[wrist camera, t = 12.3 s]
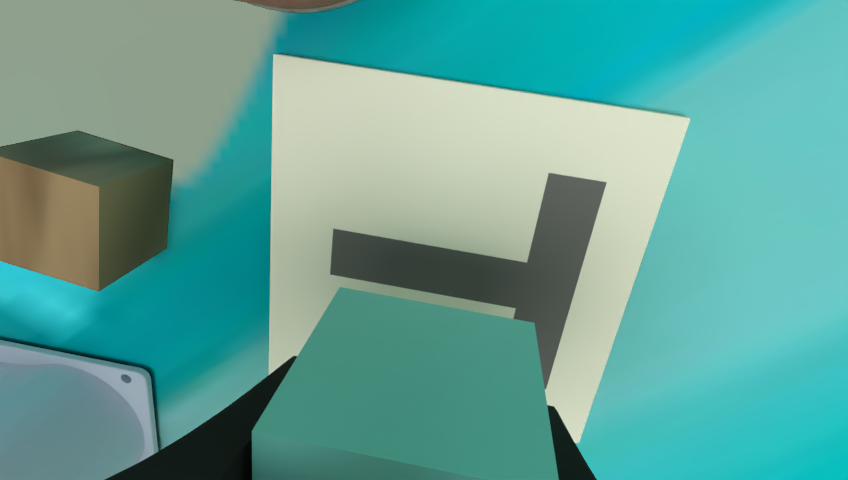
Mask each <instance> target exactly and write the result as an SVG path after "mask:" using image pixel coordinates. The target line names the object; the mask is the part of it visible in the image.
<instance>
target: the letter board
mask: <svg viewBox="0 0 848 480" xmlns="http://www.w3.org/2000/svg"><path fill="white" fill-rule="evenodd" d="M690 119H691V118H689V117H686V116H682V115H676V114H669V113H663V112H656V111H650V110H643V109H637V108H630V107H624V106H617V105H611V104H604V103H598V102H591V101H585V100H578V99H572V98H565V97H559V96H552V95H546V94H539V93H533V92H526V91H519V90H513V89H506V88H500V87H493V86H487V85H480V84H474V83H467V82H461V81H454V80H448V79H441V78H435V77H428V76H422V75H415V74H409V73H402V72H396V71H389V70H383V69H376V68H370V67H363V66H357V65H350V64H344V63H337V62H331V61H324V60H318V59H311V58H305V57H298V56H292V55H285V54H273V104H272V174H271V245H270V316H269V375H270V374H271V373H272V372H273V371H275V370H276V369H277V368H278V367H280V366H281V365H282V364H283V363H285V362H286V361H287V360H288V359H290V358H291V357H293V356H298V355H299V353H300V351H301V350H302V348H303V346H304V345H305V343H306V341H307V340H308V338H309V337H310V335H311V333H312V332H313V330H314V328H315V327H316V325H317V323H318V322H319V320H320V319H321V317H322V315H323V314H324V312H325V310H326V309H327V307H328V305H329V304H330V302H331V301H332V299H333V297H334V296H335V294H336V292H337V291H338V289H339V287H343V288H349V289H354V290H359V291H365V292H370V293H376V294H381V295H386V296H392V297H397V298H403V299H408V300H414V301H419V302H424V303H430V304H435V305H441V306H446V307H452V308H457V309H462V310H468V311H473V312H479V313H484V314H489V315H495V316H500V317H506V318H511V319H517V320H522V321H527V322H533V323H535V330H536V336H537V343H538V349H539V356H540V362H541V368H542V375H543V381H544V388H545V394H546V401H547V405H550V406H554V407H555V408H556V410H557V411H558V413H559V415H560V417H561V419H562V421H563V422H564V424H565V426H566V428H567V430H568V432H569V433H570V435H571V437H572V439H573V441H574V442H575V443H579V441H580V438H581V435H582V432H583V429H584V426H585V424H586V421H587V418H588V415H589V412H590V409H591V406H592V403H593V400H594V397H595V395H596V392H597V389H598V386H599V383H600V380H601V377H602V374H603V371H604V368H605V366H606V363H607V360H608V357H609V354H610V351H611V348H612V345H613V342H614V339H615V337H616V334H617V331H618V328H619V325H620V322H621V319H622V316H623V313H624V310H625V308H626V305H627V302H628V299H629V296H630V293H631V290H632V287H633V284H634V281H635V279H636V276H637V273H638V270H639V267H640V264H641V261H642V258H643V255H644V252H645V249H646V247H647V244H648V241H649V238H650V235H651V232H652V229H653V226H654V223H655V220H656V218H657V215H658V212H659V209H660V206H661V203H662V200H663V197H664V194H665V191H666V189H667V186H668V183H669V180H670V177H671V174H672V171H673V168H674V165H675V162H676V160H677V157H678V154H679V151H680V148H681V145H682V142H683V139H684V136H685V133H686V131H687V128H688V125H689V122H690Z"/></svg>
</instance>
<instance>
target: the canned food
mask: <svg viewBox="0 0 848 480" xmlns="http://www.w3.org/2000/svg"><path fill="white" fill-rule="evenodd" d="M236 1H242V2H247V3H250V4H252V5H255V6H259V7H262V8H266V9H270V10H276V11H283V12H292V13H311V12H321V11H327V10H332V9H336V8H340V7H343V6H346V5H350V4H352V3H354V2H357V1H359V0H236Z"/></svg>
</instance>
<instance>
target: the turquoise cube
mask: <svg viewBox="0 0 848 480" xmlns="http://www.w3.org/2000/svg"><path fill="white" fill-rule="evenodd" d="M252 480H559V478H558V472H557V465H556V459H555V452H554V446H553V439H552V433H551V426H550V420H549V414H548V407H547V401H546V394H545V388H544V381H543V375H542V368H541V362H540V356H539V349H538V343H537V336H536V330H535V323H533V322H527V321H522V320H517V319H511V318H506V317H500V316H495V315H489V314H484V313H479V312H473V311H468V310H462V309H457V308H452V307H446V306H441V305H435V304H430V303H424V302H419V301H414V300H408V299H403V298H397V297H392V296H386V295H381V294H376V293H370V292H365V291H359V290H354V289H349V288H343V287H339V289H338V291H337V292H336V294H335V296H334V297H333V299H332V301H331V302H330V304H329V305H328V307H327V309H326V310H325V312H324V314H323V315H322V317H321V319H320V320H319V322H318V323H317V325H316V327H315V328H314V330H313V332H312V333H311V335H310V337H309V338H308V340H307V341H306V343H305V345H304V346H303V348H302V350H301V351H300V353H299V355H298V356H297V358H296V360H295V361H294V363H293V364H292V366H291V368H290V369H289V371H288V373H287V374H286V376H285V378H284V379H283V381H282V382H281V384H280V386H279V387H278V389H277V391H276V392H275V394H274V396H273V397H272V399H271V400H270V402H269V404H268V405H267V407H266V409H265V410H264V412H263V414H262V415H261V417H260V418H259V420H258V422H257V423H256V425H255V427H254V428H253V430H252Z"/></svg>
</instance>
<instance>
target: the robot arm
mask: <svg viewBox="0 0 848 480" xmlns="http://www.w3.org/2000/svg"><path fill="white" fill-rule="evenodd" d="M296 358H297V356H293V357H291V358H290V359H288V360H287V361H286V362H285V363H283V364H282V365H281V366H280V367H278V368H277V369H276V370H275V371H273V372H272V373H271V374H270V375H268V376H267V377H266V378H265V379H263V380H262V381H261V382H260V383H258V384H257V385H256V386H254V387H253V388H252V389H251V390H249V391H248V392H247V393H245V394H244V395H243V396H241V397H240V398H239V399H237V400H236V401H234V402H233V403H232V404H230V405H229V406H228V407H226V408H225V409H224V410H222V411H221V412H219V413H218V414H216V415H215V416H213V417H212V418H210V419H209V420H208V421H206V422H205V423H203V424H202V425H200V426H199V427H197V428H196V429H194V430H193V431H191V432H190V433H188V434H187V435H185V436H183V437H182V438H180V439H179V440H177V441H175V442H174V443H172V444H170V445H169V446H167V447H165V448H164V449H162V450H160V451H158V444H157V434H156V424H155V414H154V405H153V395H152V385H151V377H150V374H149V373H148V372H147V371H146V370H144V369H142V368H138V367H133V366H128V365H123V364H118V363H113V362H108V361H103V360H98V359H93V358H88V357H83V356H78V355H73V354H68V353H63V352H58V351H53V350H48V349H43V348H38V347H33V346H28V345H23V344H18V343H13V342H8V341H3V340H0V480H252V430H253V428H254V427H255V425H256V423H257V422H258V420H259V418H260V417H261V415H262V414H263V412H264V410H265V409H266V407H267V405H268V404H269V402H270V400H271V399H272V397H273V396H274V394H275V392H276V391H277V389H278V387H279V386H280V384H281V382H282V381H283V379H284V378H285V376H286V374H287V373H288V371H289V369H290V368H291V366H292V364H293V363H294V361H295V360H296ZM547 407H548V414H549V420H550V426H551V433H552V439H553V446H554V452H555V459H556V465H557V472H558V478H559V480H597V479H596V478H595V476H594V474H593V473H592V471H591V470H590V468H589V466H588V465H587V463H586V461H585V460H584V458H583V456H582V455H581V453H580V451H579V449H578V448H577V446H576V444H575V442H574V441H573V439H572V437H571V435H570V433H569V432H568V430H567V428H566V426H565V424H564V422H563V421H562V419H561V417H560V415H559V413H558V411H557V410H556V408H555V407H554V406H550V405H547Z"/></svg>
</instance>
